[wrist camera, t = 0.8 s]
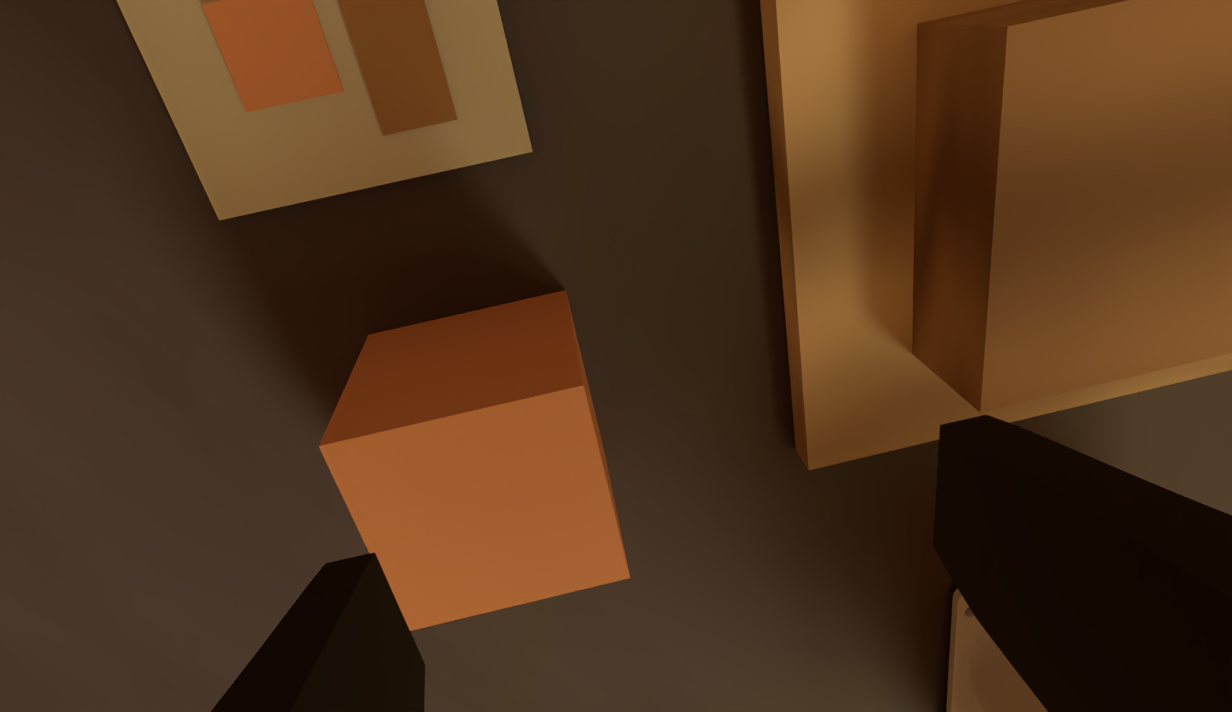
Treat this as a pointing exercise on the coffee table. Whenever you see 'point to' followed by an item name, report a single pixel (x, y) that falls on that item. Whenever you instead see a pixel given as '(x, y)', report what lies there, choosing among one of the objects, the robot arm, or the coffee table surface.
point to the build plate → (866, 231)
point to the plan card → (329, 92)
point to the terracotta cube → (477, 462)
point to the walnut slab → (1072, 194)
